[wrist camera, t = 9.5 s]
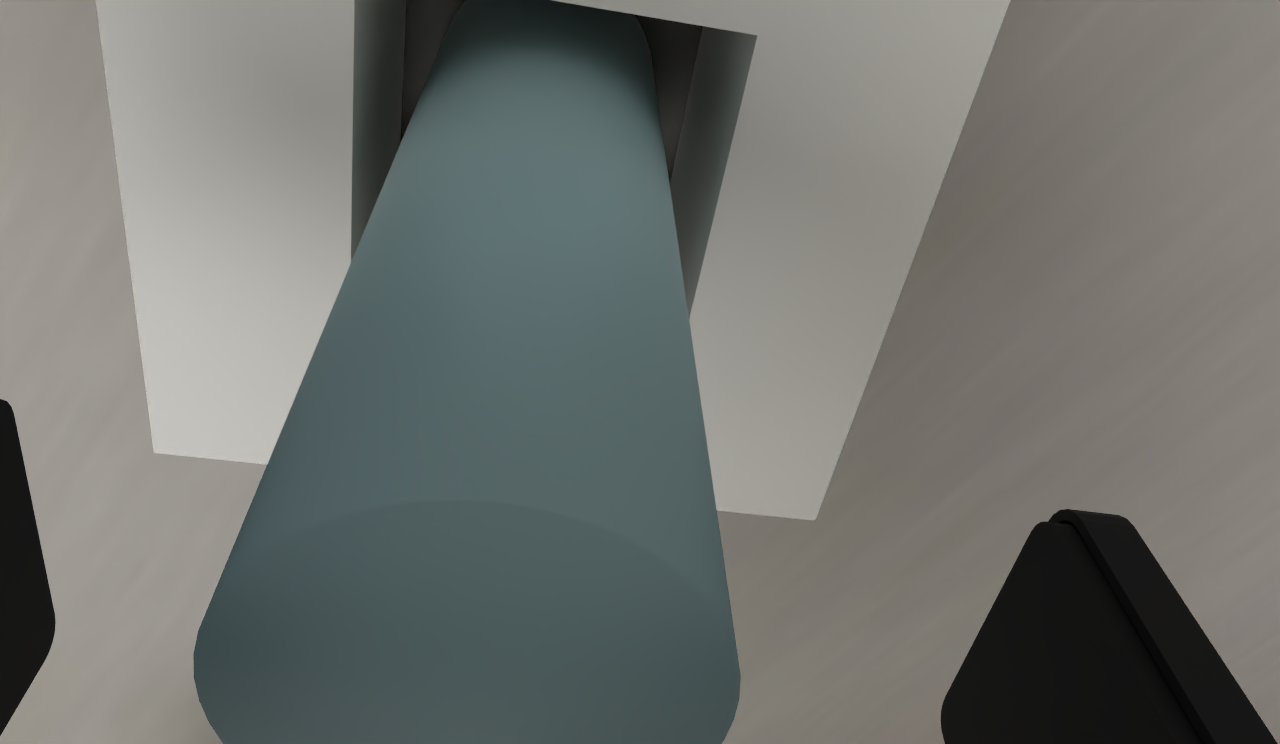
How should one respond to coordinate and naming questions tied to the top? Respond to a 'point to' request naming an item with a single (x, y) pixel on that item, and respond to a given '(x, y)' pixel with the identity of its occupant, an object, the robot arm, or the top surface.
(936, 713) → the top surface
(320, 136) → the socket block
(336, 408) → the peg
